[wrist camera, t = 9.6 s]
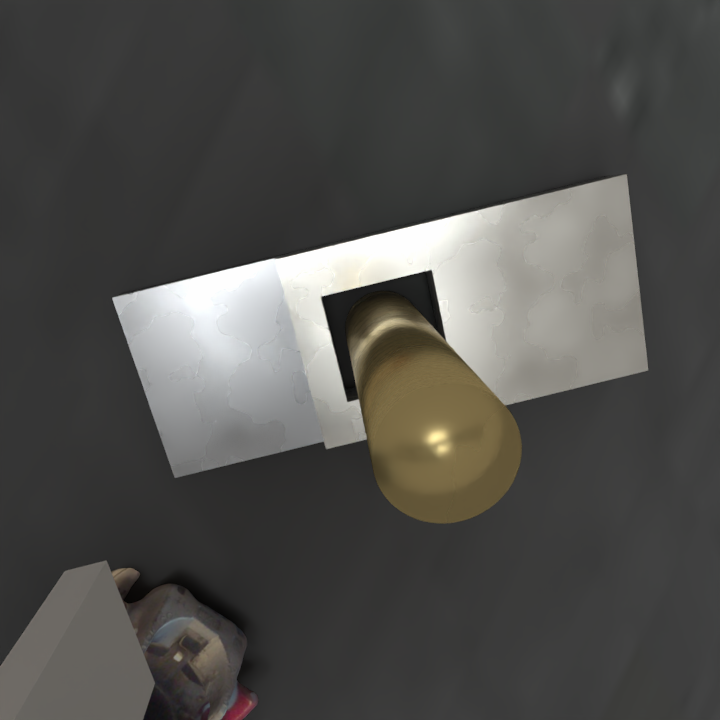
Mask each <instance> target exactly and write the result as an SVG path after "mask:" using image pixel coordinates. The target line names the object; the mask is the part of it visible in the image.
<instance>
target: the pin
mask: <svg viewBox="0 0 720 720" xmlns="http://www.w3.org/2000/svg"><path fill="white" fill-rule="evenodd" d="M345 333H346V338H347V343H348V348H349V353H350V358H351V363H352V368H353V373H354V378H355V383H356V388H357V393H358V398H359V403H360V408H361V412H362V417H363V422H364V427H365V432H366V437H367V442H368V447H369V452H370V457H371V462H372V467H373V472H374V475H375V478H376V482H377V484H378V486H379V488H380V490H381V491H382V493H383V494H384V496H385V497H386V498H387V499H388V501H389V502H390V503H391V504H392V505H393V506H395V507H396V508H397V509H398V510H400V511H401V512H403V513H405V514H406V515H408V516H410V517H413V518H415V519H418V520H421V521H425V522H431V523H453V522H459V521H463V520H466V519H470V518H472V517H474V516H477V515H479V514H481V513H482V512H484V511H486V510H488V509H489V508H490V507H492V506H493V505H494V504H495V503H496V502H497V501H499V500H500V499H501V498H502V497H503V495H504V494H505V493H506V492H507V490H508V489H509V487H510V486H511V484H512V483H513V481H514V479H515V477H516V474H517V472H518V469H519V465H520V460H521V452H522V445H521V436H520V432H519V428H518V426H517V424H516V421H515V419H514V417H513V416H512V414H511V412H510V411H509V410H508V409H507V407H506V406H505V405H504V404H503V403H502V402H501V401H500V399H499V398H498V397H497V396H496V395H495V394H494V393H493V392H492V391H491V390H490V389H489V387H488V386H487V385H486V384H485V383H484V382H483V381H482V380H481V379H480V378H479V377H478V375H477V374H476V373H475V372H474V371H473V370H472V369H471V368H470V367H469V366H468V365H467V364H466V362H465V361H464V360H463V359H462V358H461V357H460V356H459V355H458V354H457V353H456V352H455V350H454V349H453V348H452V347H451V346H450V345H449V344H448V343H447V342H446V341H445V340H444V338H443V337H442V336H441V335H440V334H439V333H438V332H437V331H436V330H435V329H434V328H433V326H432V325H431V324H430V323H429V322H428V321H427V320H426V319H425V318H424V317H423V316H422V315H421V313H420V312H419V311H418V310H417V309H416V308H415V307H414V306H413V305H412V304H411V303H410V302H409V301H408V300H407V299H406V298H405V297H403V296H401V295H400V294H397V293H395V292H390V291H377V292H372V293H369V294H367V295H365V296H363V297H362V298H360V299H359V300H358V301H357V302H356V303H355V304H354V305H353V307H352V308H351V309H350V311H349V313H348V316H347V319H346V324H345Z"/></svg>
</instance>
